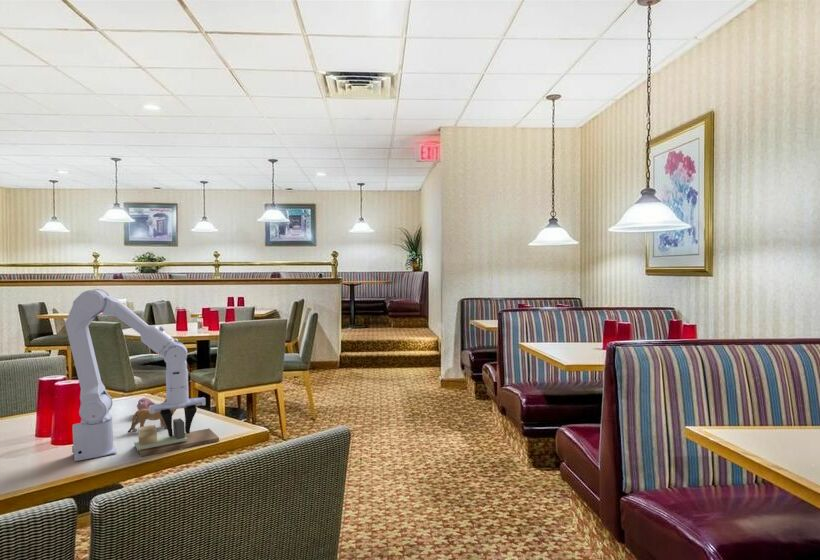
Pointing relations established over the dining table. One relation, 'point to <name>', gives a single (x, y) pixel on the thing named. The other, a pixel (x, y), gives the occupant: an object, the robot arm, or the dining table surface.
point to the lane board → (184, 442)
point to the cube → (147, 435)
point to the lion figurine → (144, 415)
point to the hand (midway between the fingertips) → (179, 434)
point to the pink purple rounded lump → (144, 403)
